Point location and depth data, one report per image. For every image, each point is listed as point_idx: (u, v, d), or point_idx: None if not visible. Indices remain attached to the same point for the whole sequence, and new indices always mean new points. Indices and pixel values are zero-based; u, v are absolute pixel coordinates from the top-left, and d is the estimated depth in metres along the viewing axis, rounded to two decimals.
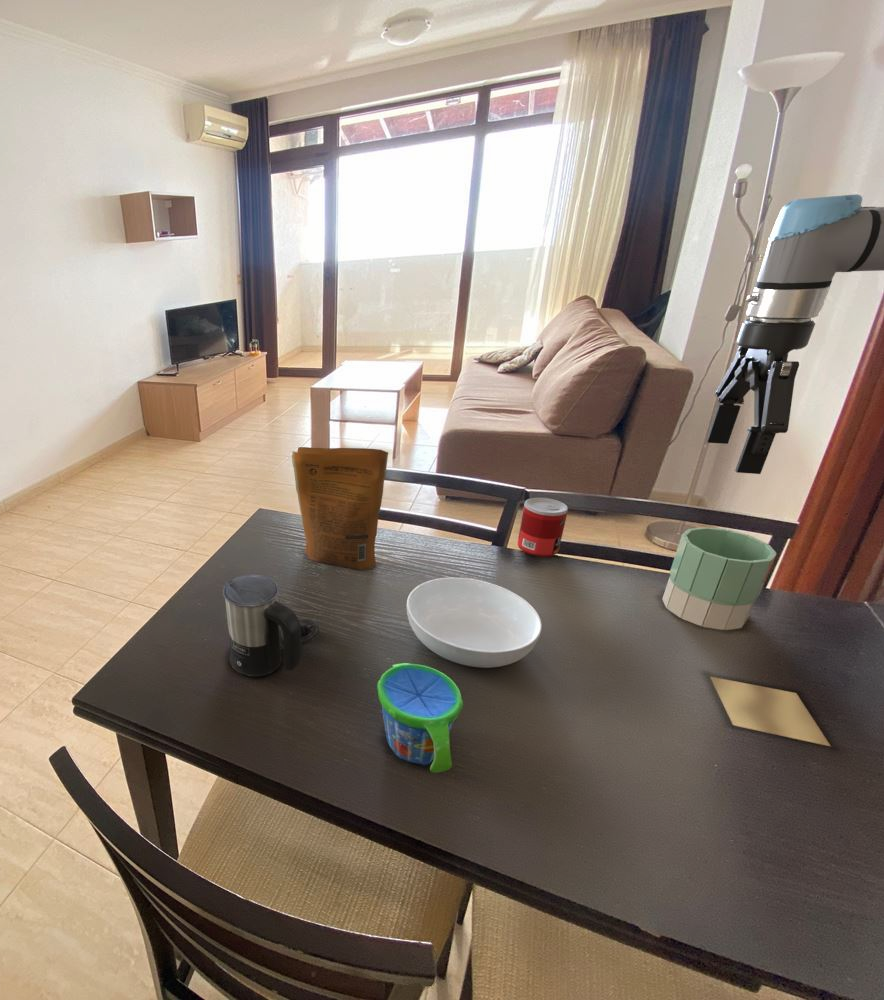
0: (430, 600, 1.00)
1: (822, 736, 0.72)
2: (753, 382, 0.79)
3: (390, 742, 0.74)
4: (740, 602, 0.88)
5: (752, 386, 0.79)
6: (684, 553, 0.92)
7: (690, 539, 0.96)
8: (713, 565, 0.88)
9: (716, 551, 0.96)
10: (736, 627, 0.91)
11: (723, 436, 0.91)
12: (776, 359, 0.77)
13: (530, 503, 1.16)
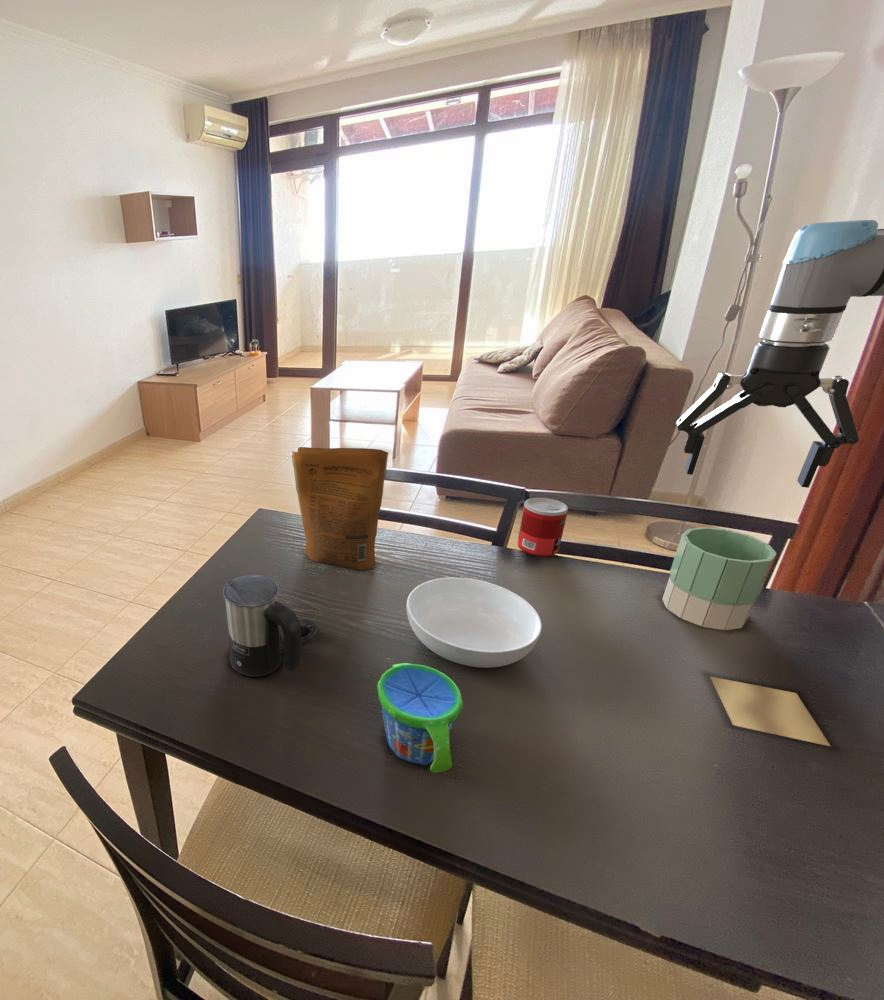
0: (430, 600, 1.00)
1: (822, 736, 0.72)
2: (807, 404, 0.78)
3: (390, 742, 0.74)
4: (740, 602, 0.88)
5: (806, 408, 0.78)
6: (684, 553, 0.92)
7: (690, 539, 0.96)
8: (713, 565, 0.88)
9: (716, 551, 0.96)
10: (736, 627, 0.91)
11: None
12: None
13: (530, 503, 1.16)
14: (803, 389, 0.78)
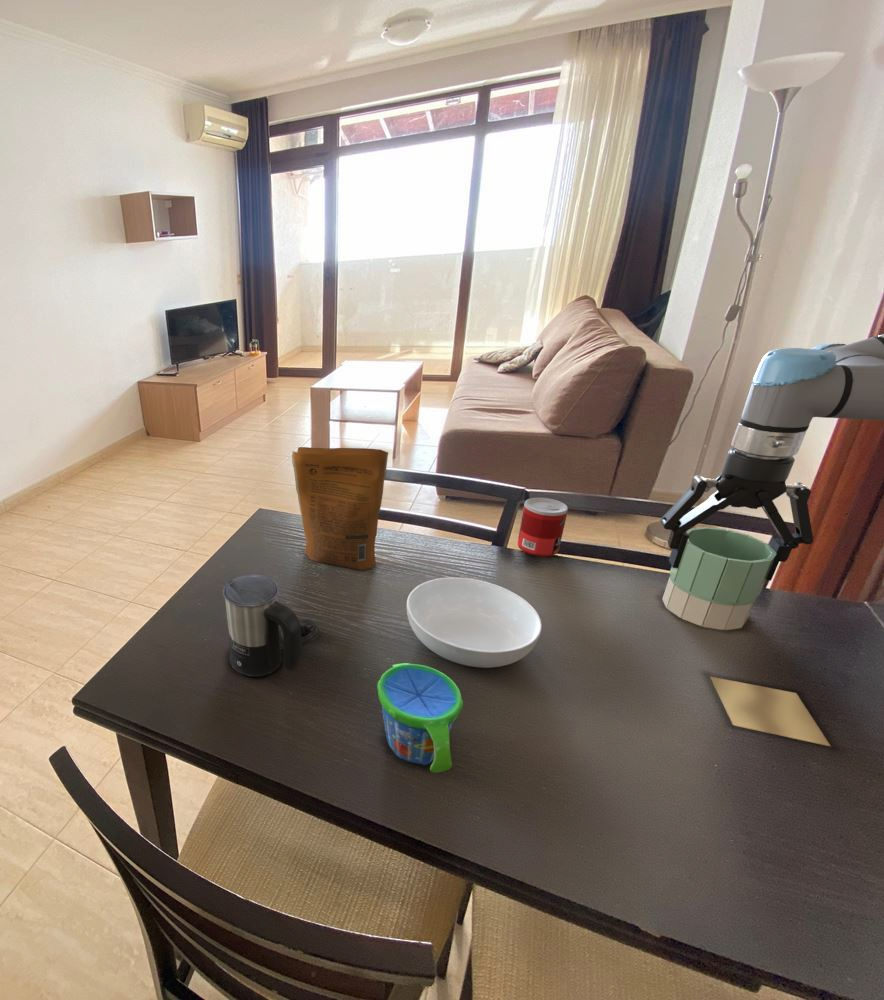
0: (430, 600, 1.00)
1: (822, 736, 0.72)
2: (774, 508, 0.84)
3: (390, 742, 0.74)
4: (740, 602, 0.88)
5: (772, 511, 0.85)
6: (684, 553, 0.92)
7: (690, 539, 0.96)
8: (713, 565, 0.88)
9: (716, 551, 0.96)
10: (736, 627, 0.91)
11: None
12: None
13: (530, 503, 1.16)
14: (772, 494, 0.84)
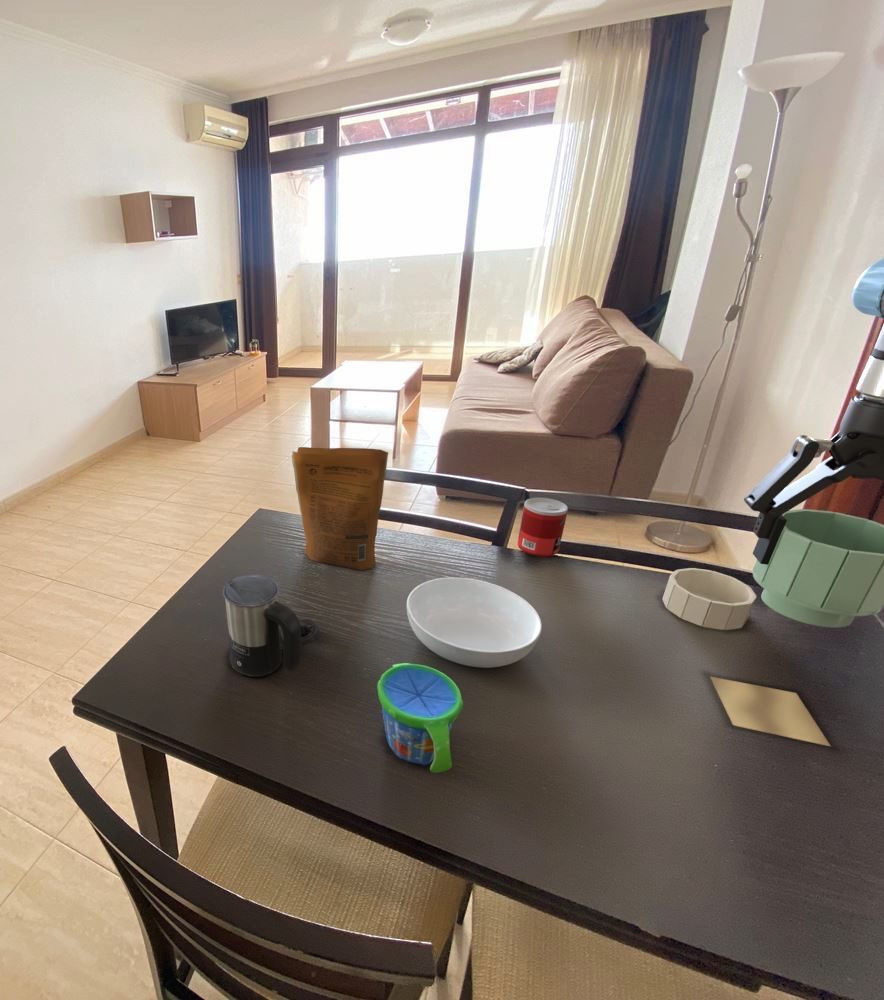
0: (430, 600, 1.00)
1: (822, 736, 0.72)
2: None
3: (390, 742, 0.74)
4: (862, 611, 0.64)
5: None
6: (779, 544, 0.67)
7: None
8: (825, 560, 0.63)
9: (818, 542, 0.71)
10: (736, 627, 0.91)
11: None
12: None
13: (530, 503, 1.16)
14: None
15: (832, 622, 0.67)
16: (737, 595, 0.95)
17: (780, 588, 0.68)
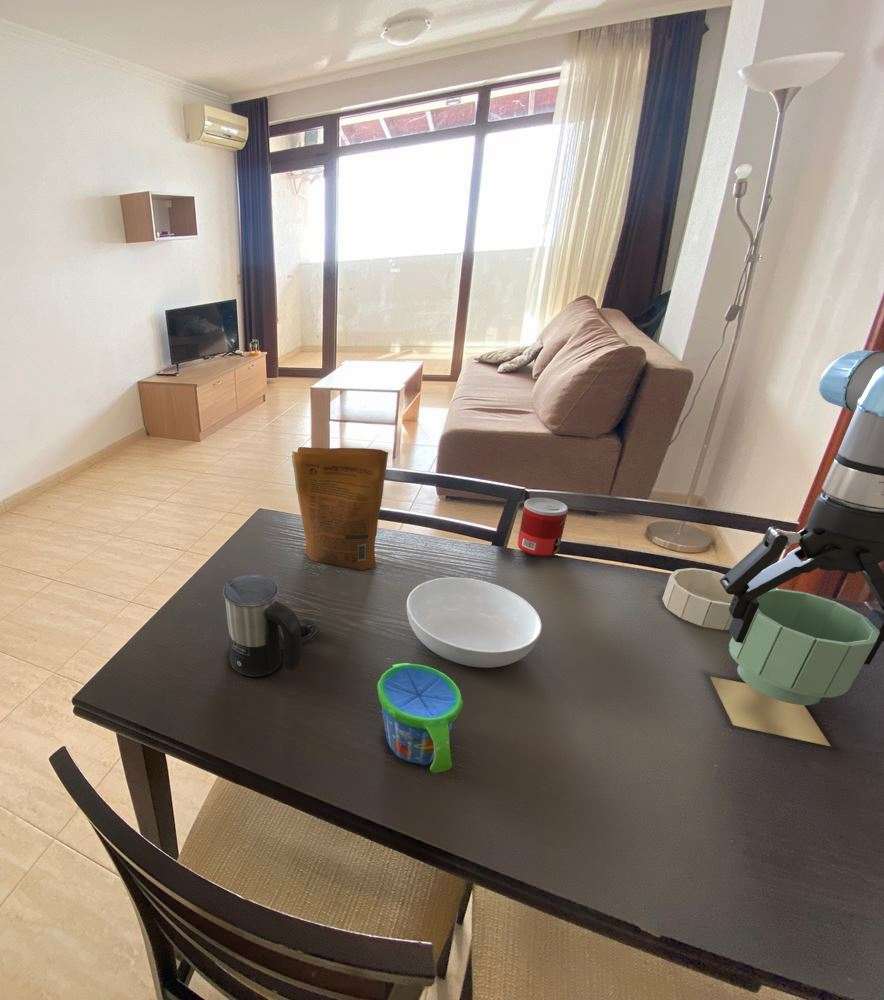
0: (430, 600, 1.00)
1: (822, 736, 0.72)
2: (880, 574, 0.63)
3: (390, 742, 0.74)
4: (829, 693, 0.67)
5: (878, 578, 0.64)
6: (752, 625, 0.71)
7: None
8: (794, 645, 0.67)
9: (790, 619, 0.75)
10: None
11: None
12: None
13: (530, 503, 1.16)
14: (878, 555, 0.63)
15: (802, 700, 0.70)
16: None
17: (754, 667, 0.72)
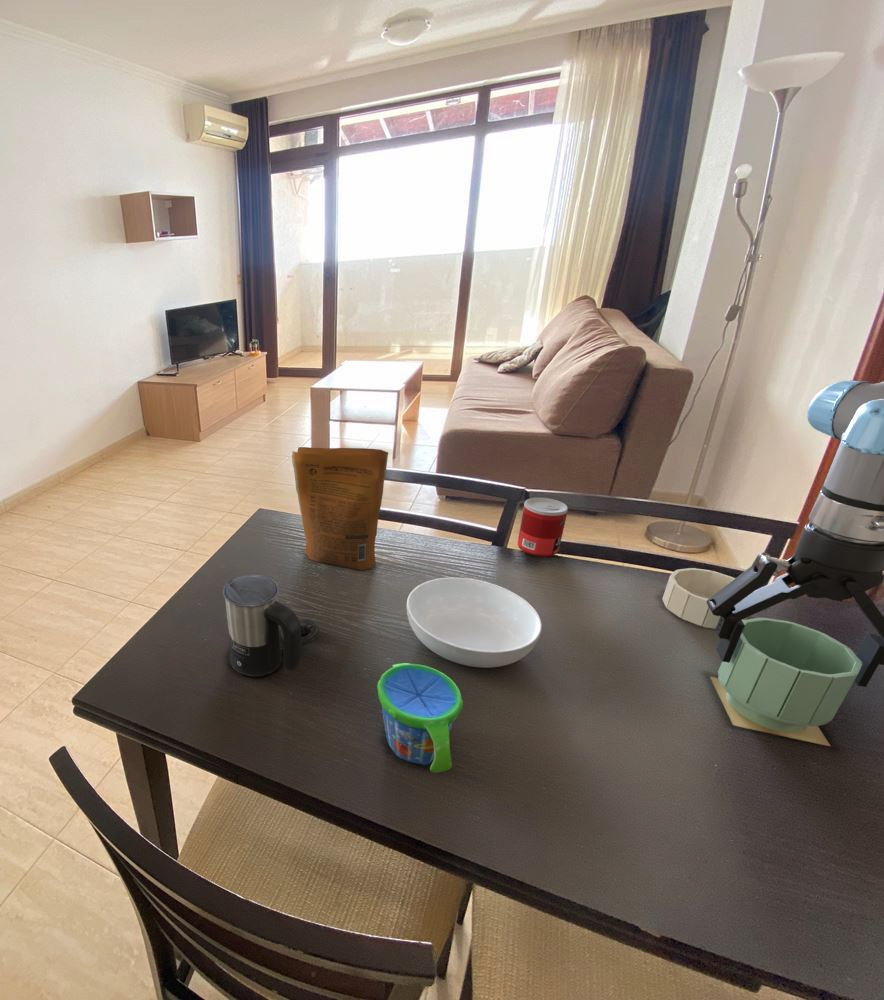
0: (430, 600, 1.00)
1: (822, 736, 0.72)
2: (869, 602, 0.65)
3: (390, 742, 0.74)
4: (814, 722, 0.70)
5: (867, 605, 0.65)
6: (740, 655, 0.73)
7: (744, 632, 0.77)
8: (780, 676, 0.69)
9: (777, 647, 0.77)
10: None
11: None
12: None
13: (530, 503, 1.16)
14: (864, 584, 0.65)
15: (788, 728, 0.72)
16: None
17: (741, 695, 0.74)
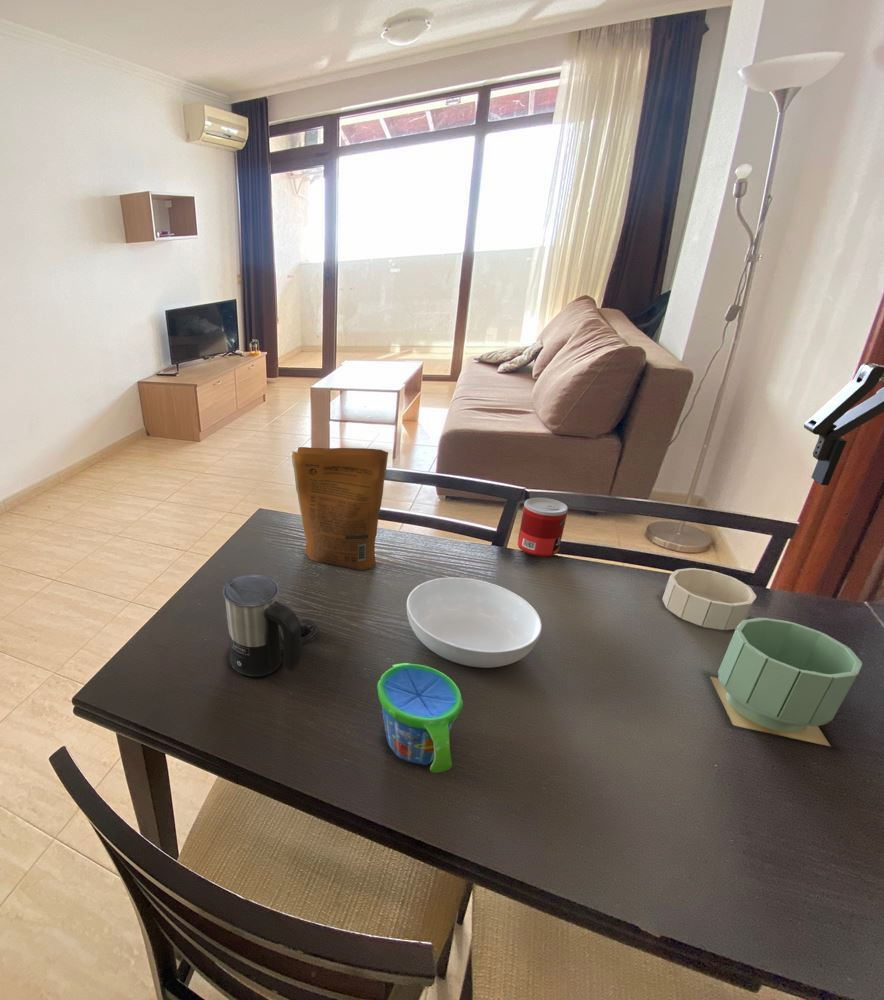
0: (430, 600, 1.00)
1: (822, 736, 0.72)
2: None
3: (390, 742, 0.74)
4: (814, 722, 0.70)
5: None
6: (740, 655, 0.73)
7: (744, 632, 0.77)
8: (780, 676, 0.69)
9: (777, 647, 0.77)
10: (736, 627, 0.91)
11: None
12: None
13: (530, 503, 1.16)
14: None
15: (788, 728, 0.72)
16: (737, 595, 0.95)
17: (741, 695, 0.74)
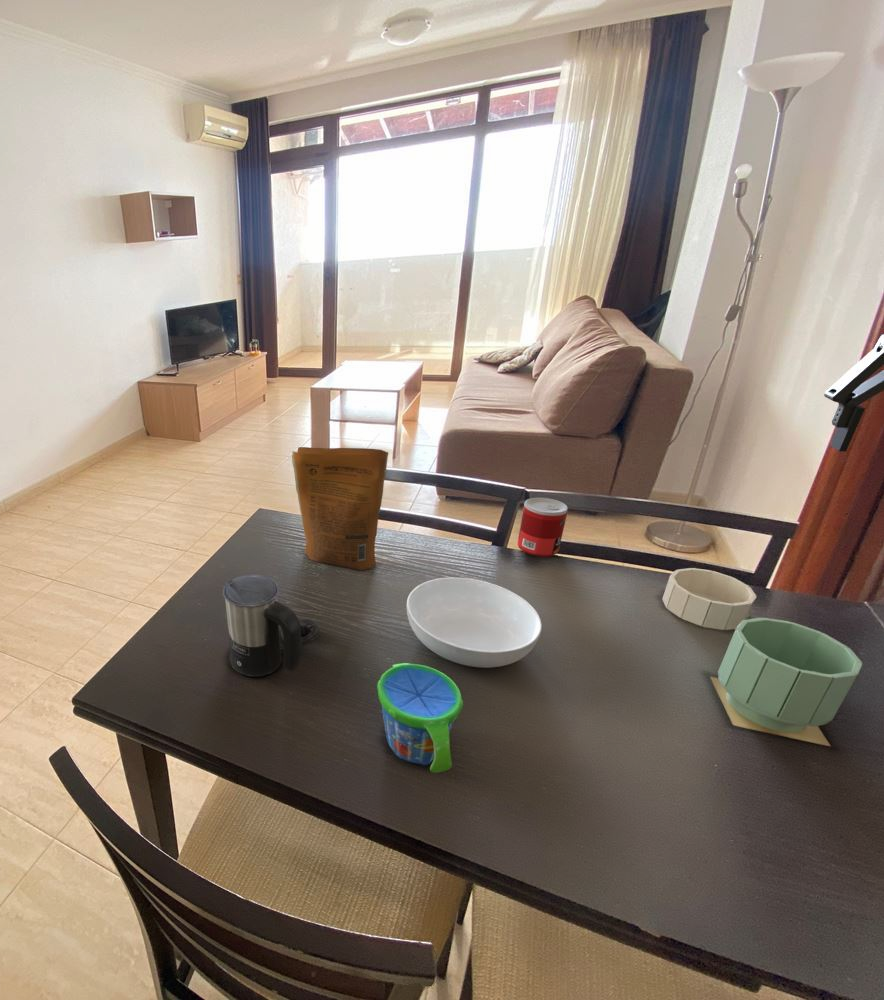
0: (430, 600, 1.00)
1: (822, 736, 0.72)
2: None
3: (390, 742, 0.74)
4: (814, 722, 0.70)
5: None
6: (740, 655, 0.73)
7: (744, 632, 0.77)
8: (780, 676, 0.69)
9: (777, 647, 0.77)
10: (736, 627, 0.91)
11: None
12: None
13: (530, 503, 1.16)
14: None
15: (788, 728, 0.72)
16: (737, 595, 0.95)
17: (741, 695, 0.74)
